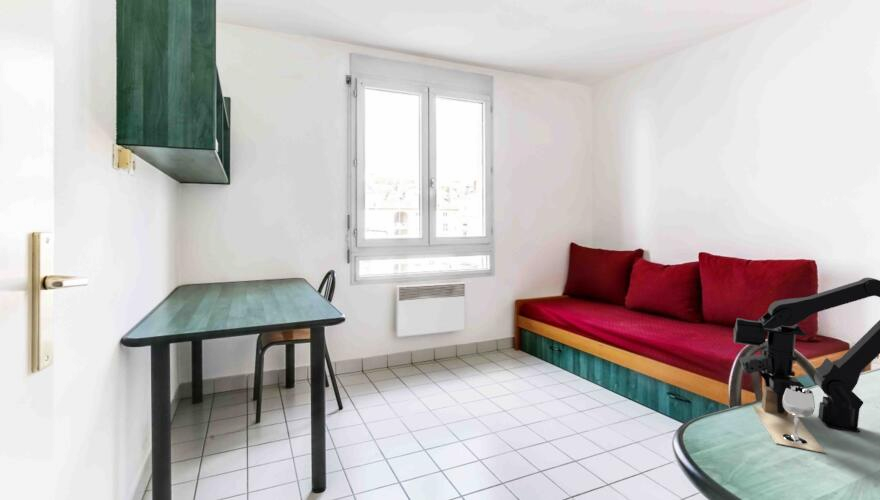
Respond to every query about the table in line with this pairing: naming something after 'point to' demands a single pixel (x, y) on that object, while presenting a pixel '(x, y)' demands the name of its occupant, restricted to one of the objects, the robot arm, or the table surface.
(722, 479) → the table surface
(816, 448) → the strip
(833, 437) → the table surface
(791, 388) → the wineglass
